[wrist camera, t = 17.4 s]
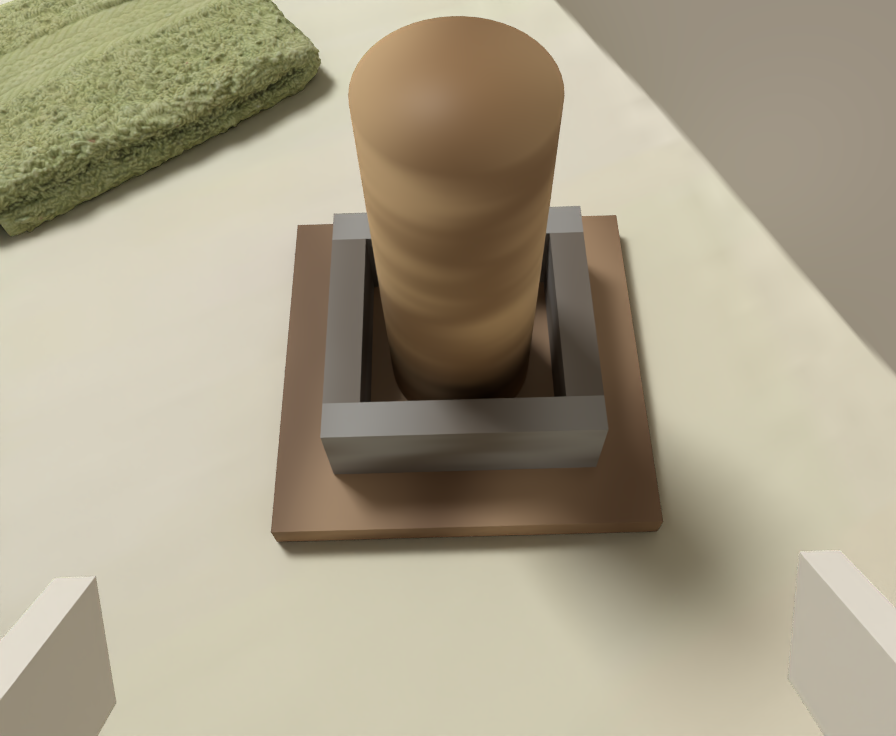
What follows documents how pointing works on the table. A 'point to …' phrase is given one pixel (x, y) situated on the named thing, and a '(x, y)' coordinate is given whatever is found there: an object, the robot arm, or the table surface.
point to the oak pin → (457, 198)
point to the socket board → (463, 407)
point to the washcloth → (128, 90)
